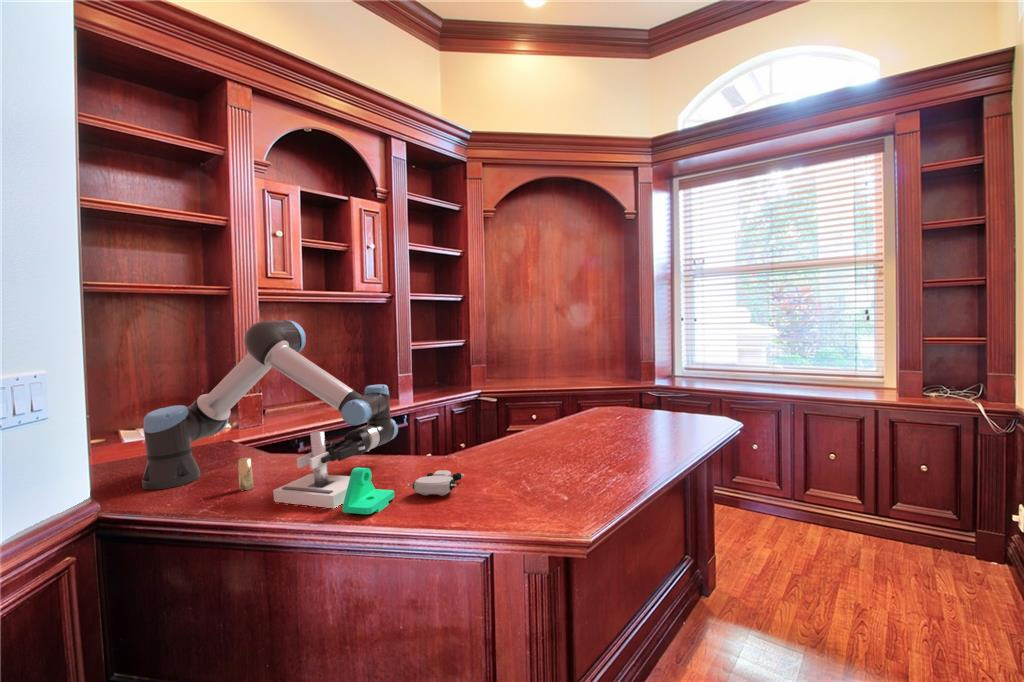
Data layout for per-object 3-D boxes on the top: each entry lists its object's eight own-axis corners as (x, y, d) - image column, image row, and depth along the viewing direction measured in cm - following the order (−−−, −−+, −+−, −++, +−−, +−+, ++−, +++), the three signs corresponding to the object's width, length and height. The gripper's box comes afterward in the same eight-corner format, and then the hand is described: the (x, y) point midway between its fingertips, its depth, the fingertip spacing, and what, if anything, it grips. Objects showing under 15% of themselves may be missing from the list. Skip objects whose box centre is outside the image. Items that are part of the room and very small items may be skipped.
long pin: (316, 488, 136) (311, 431, 135) (329, 486, 136) (325, 430, 135) (314, 492, 132) (309, 434, 131) (328, 490, 133) (323, 433, 132)
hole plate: (274, 502, 131) (273, 488, 131) (312, 484, 144) (311, 472, 144) (334, 509, 124) (332, 494, 124) (368, 489, 137) (367, 476, 137)
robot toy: (426, 484, 142) (406, 499, 128) (426, 468, 143) (406, 482, 128) (467, 484, 140) (451, 500, 126) (466, 468, 140) (451, 482, 126)
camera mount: (370, 518, 117) (367, 477, 117) (343, 516, 120) (340, 475, 119) (396, 500, 129) (393, 461, 128) (371, 498, 131) (368, 460, 131)
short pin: (242, 487, 145) (239, 458, 145) (255, 486, 146) (252, 456, 146) (238, 492, 142) (235, 461, 141) (251, 490, 143) (249, 460, 142)
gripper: (384, 453, 148) (331, 479, 126) (340, 451, 154) (281, 475, 132) (382, 429, 147) (328, 450, 125) (338, 427, 153) (279, 448, 131)
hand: (304, 463), depth 129 cm, fingers closed on long pin, 3 cm apart
